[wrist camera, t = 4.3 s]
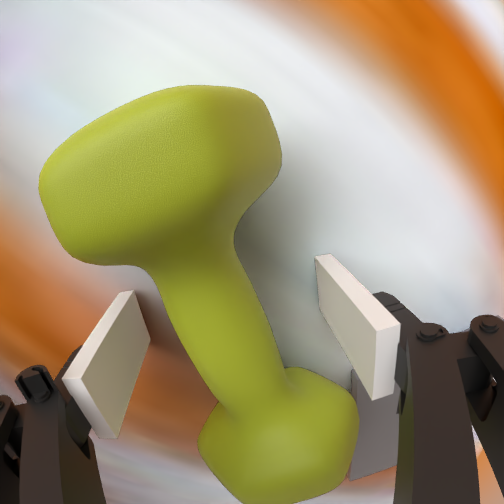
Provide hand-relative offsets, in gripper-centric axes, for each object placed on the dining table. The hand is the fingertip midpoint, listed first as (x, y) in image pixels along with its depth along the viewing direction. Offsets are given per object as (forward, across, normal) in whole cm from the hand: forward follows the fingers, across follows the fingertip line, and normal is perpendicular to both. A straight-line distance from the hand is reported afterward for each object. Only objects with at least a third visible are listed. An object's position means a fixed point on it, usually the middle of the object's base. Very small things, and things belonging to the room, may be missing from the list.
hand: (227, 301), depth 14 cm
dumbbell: (+1, 0, 0) cm, 1 cm away
